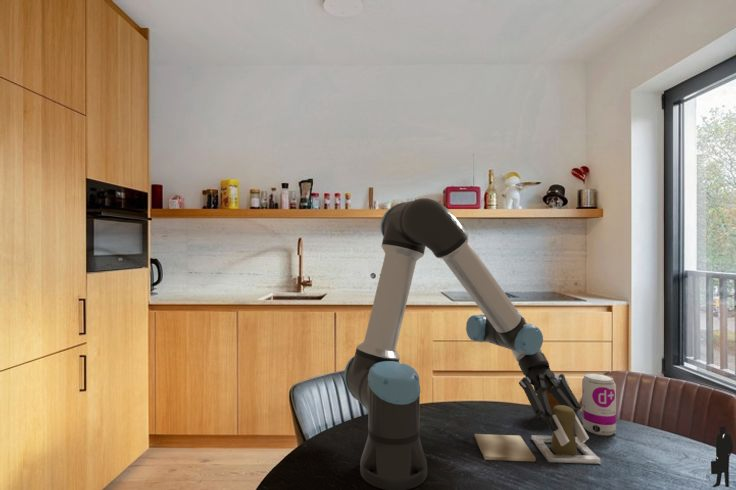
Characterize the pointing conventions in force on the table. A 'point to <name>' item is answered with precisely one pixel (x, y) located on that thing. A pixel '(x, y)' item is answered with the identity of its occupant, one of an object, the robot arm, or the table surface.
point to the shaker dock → (586, 458)
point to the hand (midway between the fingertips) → (575, 441)
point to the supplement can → (599, 404)
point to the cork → (566, 421)
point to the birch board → (504, 447)
